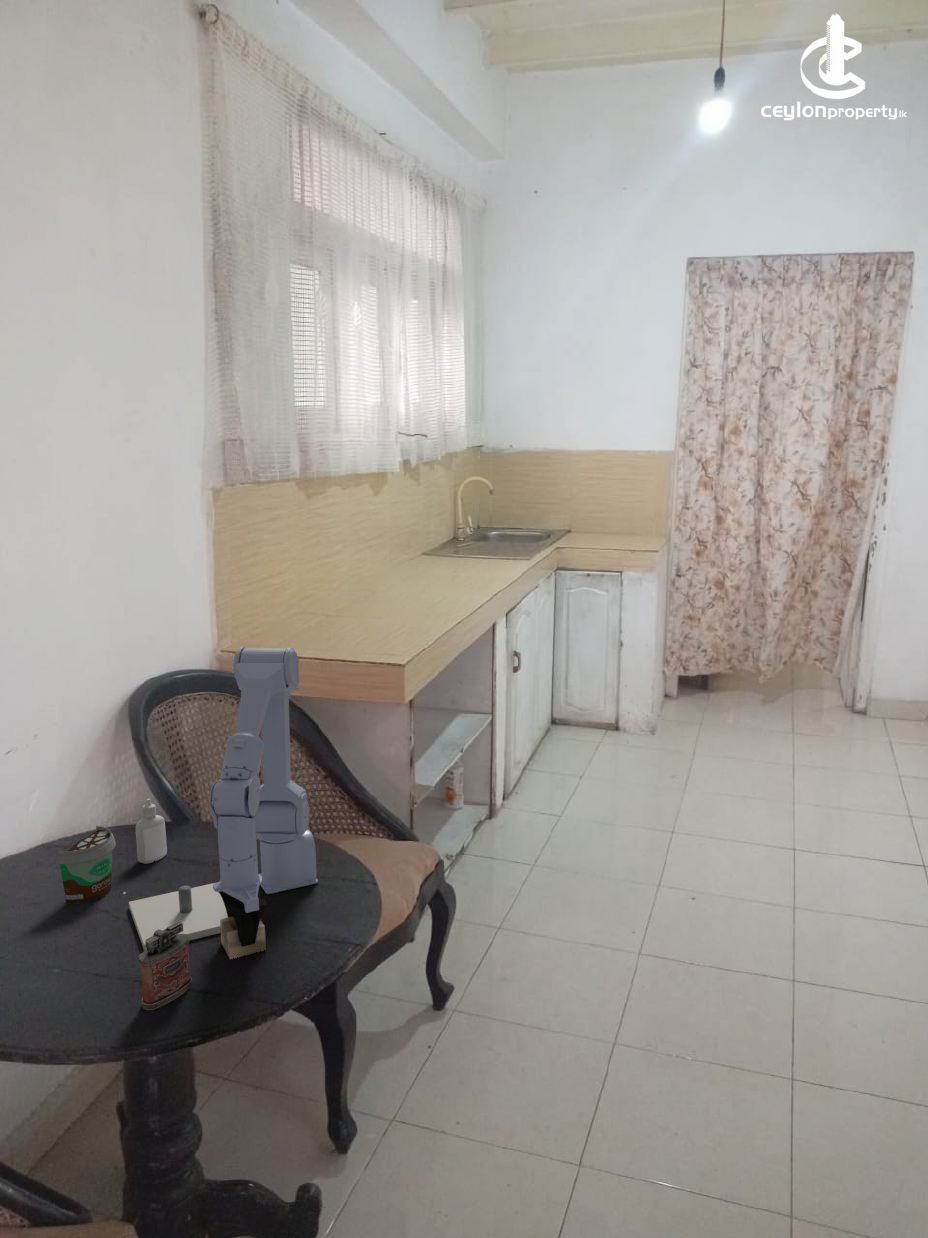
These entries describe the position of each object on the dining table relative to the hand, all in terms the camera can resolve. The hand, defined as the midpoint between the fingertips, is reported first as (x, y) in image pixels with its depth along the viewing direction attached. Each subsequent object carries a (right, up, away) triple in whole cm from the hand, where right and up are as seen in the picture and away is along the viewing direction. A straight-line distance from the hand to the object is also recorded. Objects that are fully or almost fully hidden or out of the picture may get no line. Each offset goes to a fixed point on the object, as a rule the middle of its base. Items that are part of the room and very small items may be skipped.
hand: (242, 935), depth 145 cm
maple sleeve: (0, -2, 0) cm, 2 cm away
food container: (-30, +1, +19) cm, 36 cm away
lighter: (-8, -4, -13) cm, 15 cm away
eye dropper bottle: (-25, +3, +33) cm, 42 cm away
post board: (-12, 0, +10) cm, 15 cm away
